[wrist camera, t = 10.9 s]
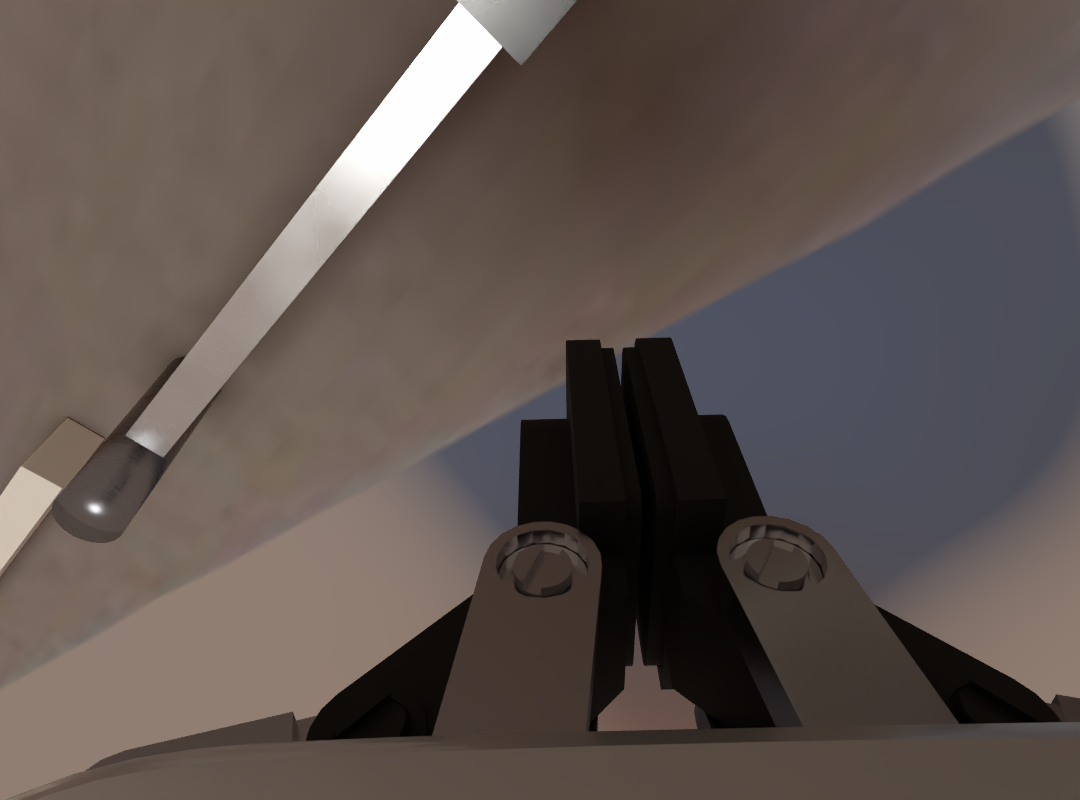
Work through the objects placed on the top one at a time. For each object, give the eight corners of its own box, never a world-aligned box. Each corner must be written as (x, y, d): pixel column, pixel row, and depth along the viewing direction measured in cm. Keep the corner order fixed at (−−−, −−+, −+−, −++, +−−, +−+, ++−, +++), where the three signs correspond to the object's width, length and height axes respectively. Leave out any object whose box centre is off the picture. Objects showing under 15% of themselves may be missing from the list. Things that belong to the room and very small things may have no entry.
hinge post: (182, 347, 26) (69, 480, 20) (231, 379, 27) (136, 517, 21) (156, 380, 27) (40, 518, 21) (204, 411, 28) (106, 552, 22)
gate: (244, 362, 26) (150, 500, 20) (195, 329, 26) (82, 462, 19) (591, -56, 19) (614, -44, 13) (537, -119, 18) (534, -141, 12)
